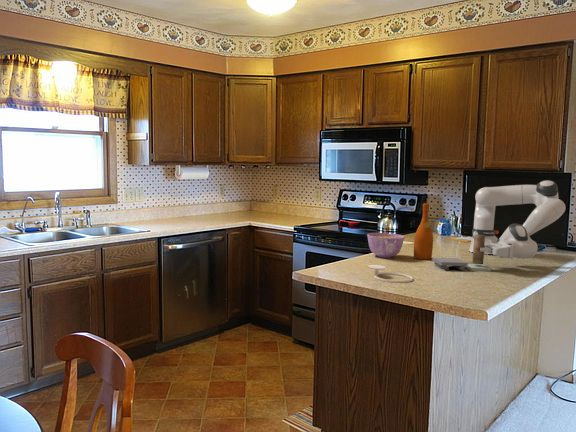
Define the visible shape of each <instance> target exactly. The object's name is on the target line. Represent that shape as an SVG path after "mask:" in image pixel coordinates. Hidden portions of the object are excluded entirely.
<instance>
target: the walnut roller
mask: <svg viewBox="0 0 576 432" xmlns="http://www.w3.org/2000/svg"><path fill="white" fill-rule="evenodd" d="M484 246H485V235H474V247H473V253H472V263H471V264H483V265H484V255H485V254H484V252H481V251H479V248H480V247H481V248H484Z"/></svg>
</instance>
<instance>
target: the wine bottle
mask: <svg viewBox="0 0 576 432" xmlns="http://www.w3.org/2000/svg"><path fill="white" fill-rule="evenodd" d="M429 209H430V204H429V203H428V202H425V203H423V204H422V218H421V221H420V224H419V226H418V228H417V229H416V232H415V234H414V240H413V257H414V259H417V260H421V261H422V260H425V261H428V260H431V259H433V248H434V247H433V246H434V235H433V231H432V228H431V222H430V220H429V212H430V210H429Z"/></svg>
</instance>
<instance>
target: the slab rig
mask: <svg viewBox="0 0 576 432" xmlns="http://www.w3.org/2000/svg"><path fill="white" fill-rule="evenodd" d="M431 259H432V260H431V261H432V262H434V265H435V266H437V267H439V268H440V269H442V270H444V272H445V271H449V270H450V269H449V267H450V266H451V267H453V268H455V269H457V270H459V271H461V272H464V271H465V270H466V268H465V267H464V266H468V264H469V263H468V262H467V261H465V260H463V259H461V258H459V257H435V256H434V257H433V256H432V258H431Z"/></svg>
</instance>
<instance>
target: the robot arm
mask: <svg viewBox="0 0 576 432" xmlns="http://www.w3.org/2000/svg"><path fill="white" fill-rule="evenodd" d="M474 198H475V199H474V200H475V209H474V217H473V219H474V220H473V228H472V233H471V234H472V236H471V240H470V246H469V249H468V252H469V251H470V252H469V253H472V252H473V247H474V235H485V246H484V248H481V247H480V248H479V251H481V252H484V255H488V254H493V255H492V256H495V257H499V258H500V259H513V258H517V259H530V258H534V257H535V256H536V254H537V253H538V250H539V248H538V247H539V246H538V244H537V242H536V241H535V240H533V239H532V238H531V236H532V235H533V234H536V233H537V232H538V231H540V230H543V229H544V228H546V227H548V226H549V225H551V224H553V223H554V222H556V221H557V220H559V218H561V216H562V215H563V214H564V213H565V212H566V210H567V209H566V207H567V206H566V204H565V203H564V201H563V200H561V199H559V198H560V197H559V188H558V184H557V182H555V181H553V180H549V179H546V180H541V181H540V182H538V183H537V184H515V185H513V184H512V185H502V186H501V185H500V186H484V187H482V188H479V189H478V190H477V191H476V193H475V197H474ZM525 204H526V205H527V204H534V205H535V207H534V209H533V210H532V211H531V213H530V214H529V215H528V217H527V218H526V220H525V222H523V224H521V223H511V224H510V225H508V227H506V229H505V230H504V232H503V233H502V235H501V236H500V237H497V236H496V235H498V234H499V230H496V229H495V230H494V225H495V215H496V207H497V206H510V205H512V206H513V205H525Z"/></svg>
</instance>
